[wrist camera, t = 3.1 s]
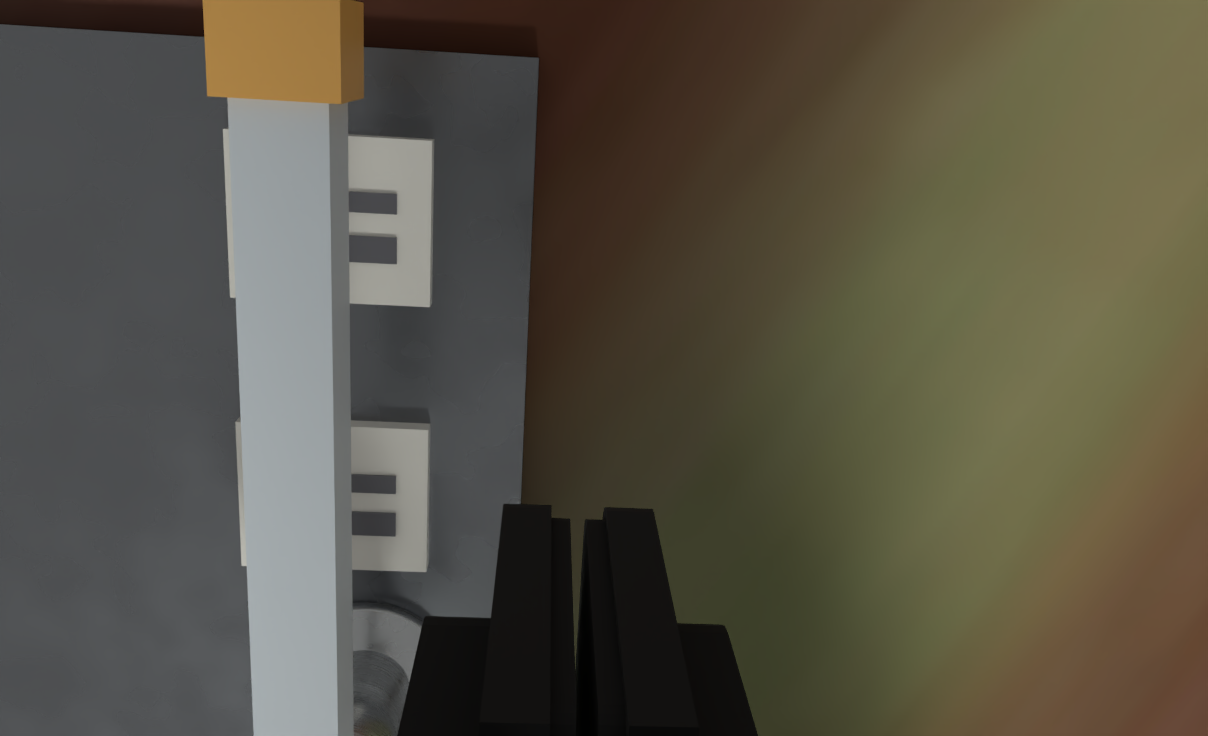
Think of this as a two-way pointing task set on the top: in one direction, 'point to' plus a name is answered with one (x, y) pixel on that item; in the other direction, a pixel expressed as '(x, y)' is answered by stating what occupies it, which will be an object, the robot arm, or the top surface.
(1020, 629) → the top surface
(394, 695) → the grey metal rounded piece
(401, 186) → the label plate
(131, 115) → the board
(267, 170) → the bar
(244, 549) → the label plate
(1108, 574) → the top surface
